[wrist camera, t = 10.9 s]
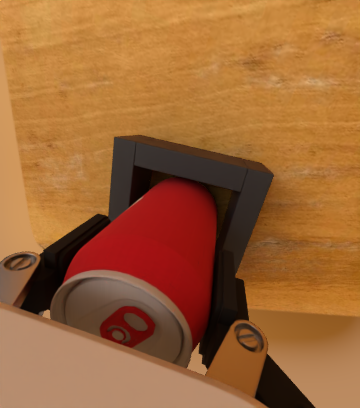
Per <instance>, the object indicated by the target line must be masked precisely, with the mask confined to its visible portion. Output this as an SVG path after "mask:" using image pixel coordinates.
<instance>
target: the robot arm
mask: <svg viewBox="0 0 360 408" xmlns="http://www.w3.org/2000/svg"><path fill="white" fill-rule="evenodd" d="M110 223H111V220H110V219H109V218H108V216H105V215H102V214H96V215H95V216H93V217H92V218H91V219H89V220H88V221H86V222H85V223H83V224H82V225H80V226H79V227H77V228H76V229H74V230H73V231H71V232H70V233H68V234H67V235H65V236H64V237H62V238H61V239H59V240H58V241H56V242H55V243H53V244H52V245H50V246H49V247H47V248H46V249H44V250H43V251H44V252H43V253H41V254H40V255H38V254H37V253H34V252H20V253H15V254H12V255H10V256H8V257H6V258H4V259H3V260H2V261H1V262H0V408H315V407H314V406H313V404H312V403H311V402H310V401H309V400H308V399H307V398H306V397H305V395H304V394H303V393H302V392H301V391H300V390H299V389H298V388H297V386H296V385H295V384H294V383H293V382H292V381H291V380H290V379H289V378H288V376H287V375H286V374H285V373H284V372H283V371H282V370H281V369H280V367H279V366H278V365H277V364H276V363H275V362H274V361H273V360H272V359H271V357H270V356H269V355H268V354H267V351H268V342H267V338H266V337H265V335H264V333H263V332H262V331H261V329H260V328H259V327H257V326H256V325H255V324H253V323H252V322H249V317H248V309H247V301H246V294H245V286H244V281H243V280H242V279H238V278H235V266H234V253H233V252H232V251H228V250H225V249H223V250H222V251H218V254H217V257H216V260H215V263H214V273H213V287H212V302H211V314H210V319H209V323H208V327H207V329H206V331H205V334H204V335H203V337H202V339H201V340H200V344H199V354H201V355H203V357H202V364H204V365H205V366H206V368H207V369H208V371H207V372H206V374H205V376H204V375H202V374H199V373H197V372H194V371H191V370H189V369H186V368H184V367H181V366H178V365H176V364H173V363H170V362H167V361H165V360H162V359H159V358H156V357H154V356H151V355H148V354H146V353H143V352H140V351H137V350H135V349H132V348H129V347H126V346H124V345H121V344H118V343H115V342H112V341H110V340H107V339H104V338H101V337H99V336H96V335H93V334H90V333H87V332H85V331H82V330H79V329H76V328H73V327H71V326H68V325H65V324H62V323H59V322H56V321H54V320H51V319H48V318H45V317H42V315H43V313H44V311H45V310H47V309H48V310H50V307H51V302H52V299H53V297H54V295H55V293H56V292H57V290H58V289H59V288H60V287H61V286H62V284H63V281H64V278H65V275H66V272H67V269H68V267H69V265H70V263H71V261H72V259H73V258H74V256H75V255H76V253H77V252H78V251H79V250H80V249H81V248H82V247H83V246H84V245H85V244H86V243H88V242H89V241H90V240H91V239H92V238H93V237H95V236H96V235H97V234H98V233H99V232H101V231H102V230H103V229H104V228H105V227H107V226H108V225H109V224H110Z"/></svg>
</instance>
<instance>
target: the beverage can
mask: <svg viewBox="0 0 360 408" xmlns="http://www.w3.org/2000/svg"><path fill="white" fill-rule="evenodd" d="M216 229H217V206H216V203H215V200H214V198H213V196H212V195H211V193H210V192H209V191H208V190H207V188H205V187H204V186H203V185H202V184H200V183H199V182H197V181H194V180H190V179H186V178H182V177H172V178H168V179H165V180H163V181H161V182H159V183H158V184H156V185H155V186H154V187H153V188H152V189H151V190H149V191H148V192H147V193H146V194H145V195H143V196H142V197H141V198H140V199H139V200H137V201H136V202H135V203H134V204H133V205H132V206H130V207H129V208H128V209H127V210H126V211H124V212H123V213H122V214H121V215H120V216H118V217H117V218H116V219H115V220H114V221H113V222H111V223H110V224H109V225H108V226H107V227H105V228H104V229H103V230H102V231H101V232H99V233H98V234H97V235H96V236H95V237H93V238H92V239H91V240H90V241H89V242H88V243H86V244H85V245H84V246H83V247H82V248H81V249H80V250H79V251H78V252H77V253H76V255H75V256H74V258H73V259H72V261H71V263H70V265H69V267H68V269H67V272H66V275H65V278H64V281H63V284H62V286H61V287H60V288H59V289H58V290H57V292H56V293H55V295H54V297H53V299H52V302H51V307H50V317H51V320H54V321H56V322H59V323H62V324H65V325H68V326H71V327H73V328H76V329H79V330H82V331H85V332H87V333H90V334H93V335H96V336H99V337H101V338H104V339H107V340H110V341H112V342H115V343H118V344H121V345H124V346H126V347H129V348H132V349H135V350H137V351H140V352H143V353H146V354H148V355H151V356H154V357H156V358H159V359H162V360H165V361H167V362H170V363H173V364H176V365H178V366H181V367H184V368H187V367H188V364H189V362H190V358H191V353H192V352H193V350H194V349H195V348H196V346H197V345H198V343H199V342H200V340H201V339H202V337H203V335H204V334H205V331H206V329H207V327H208V323H209V319H210V314H211V302H212V287H213V273H214V258H215V243H216Z"/></svg>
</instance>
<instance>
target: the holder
mask: <svg viewBox="0 0 360 408" xmlns="http://www.w3.org/2000/svg"><path fill="white" fill-rule="evenodd" d="M152 170H154V171H158V172H162V173H166V174H170V175H174V176H178V177H182V178H186V179H190V180H194V181H198V182H202V183H206V184H210V185H214V186H218V187H222V188H226V189H230V190H233V191H232V194H231V197H230V201H229V204H228V207H227V210H226V213H225V216H224V220H223V223H222V226H221V229H220V232H219V236H218V239H217V242H216V245H215V258H214V263H215V260H216V257H217V254H218V251H222V250H223V249H225V250H228V251H232V252H233V253H234V266H235V276H236V273H237V270H238V268H239V265H240V263H241V260H242V257H243V255H244V252H245V250H246V247H247V244H248V242H249V239H250V237H251V234H252V231H253V229H254V226H255V224H256V221H257V218H258V216H259V213H260V211H261V208H262V205H263V203H264V200H265V198H266V195H267V192H268V190H269V187H270V185H271V182H272V179H273V177H274V174H273V173H272V172H271V171H269V170H268V169H267V168H266V167H265V166H264V165H263V164H262V163H259V162H254V161H250V160H246V159H241V158H237V157H233V156H228V155H224V154H220V153H215V152H211V151H207V150H202V149H198V148H194V147H189V146H185V145H181V144H176V143H172V142H168V141H163V140H159V139H155V138H151V137H146V136H142V135H134V136H120V137H114V147H113V161H112V174H111V188H110V202H109V215H108V218H109V219H110V220H111V222H113V221H114V220H115V219H116V218H117V217H118V216H120V215H121V214H122V213H123V212H124V211H126V210H127V209H128V208H129V207H130V206H132V205H133V204H134V203H135V202H136V201H137V200H139V199H140V198H141V197H142V196H143V195H145V194H146V193H147V192H148V191H149V187H150V181H151V174H152Z"/></svg>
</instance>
